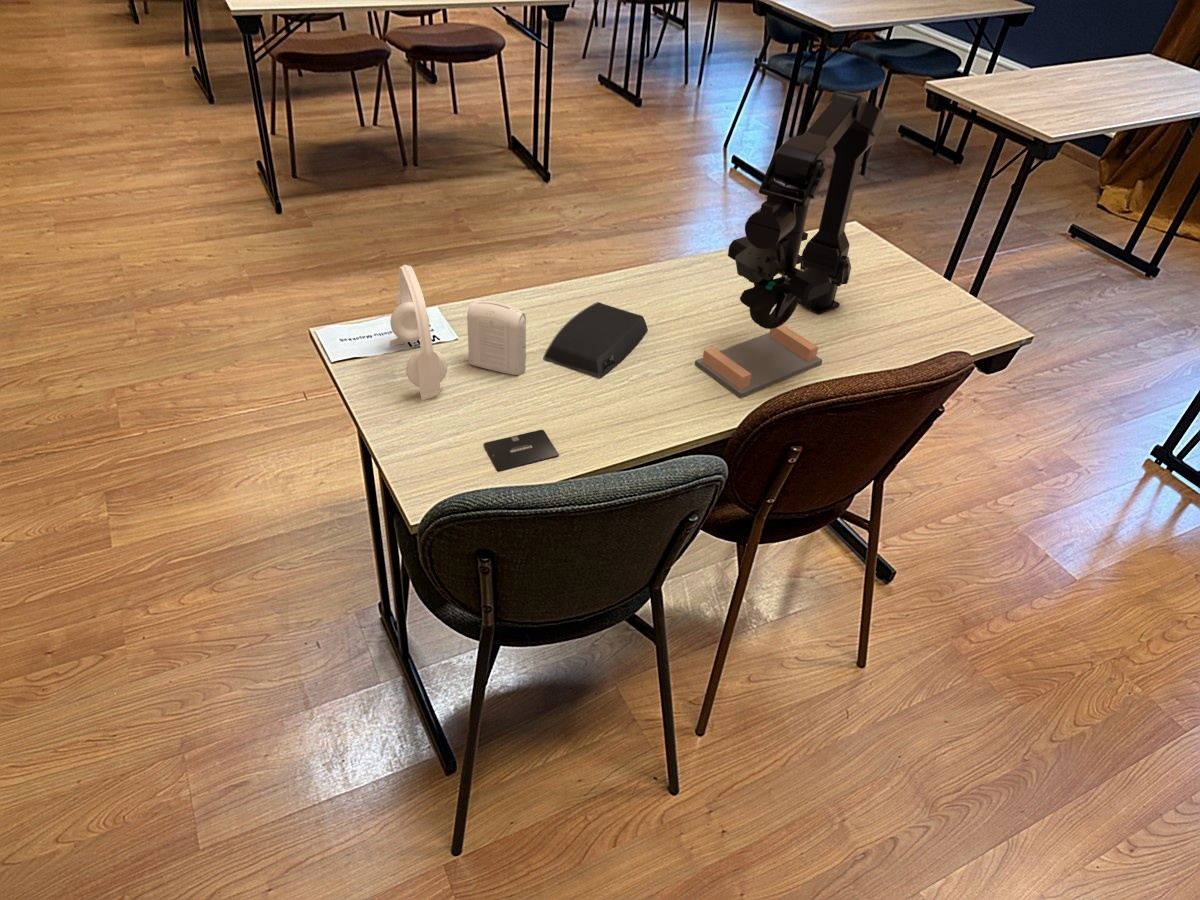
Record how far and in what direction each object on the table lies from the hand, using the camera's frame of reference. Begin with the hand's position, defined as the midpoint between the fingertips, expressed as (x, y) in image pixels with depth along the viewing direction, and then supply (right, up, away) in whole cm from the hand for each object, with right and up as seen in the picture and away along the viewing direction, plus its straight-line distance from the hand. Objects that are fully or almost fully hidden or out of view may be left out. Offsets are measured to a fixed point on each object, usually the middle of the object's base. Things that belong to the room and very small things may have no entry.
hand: (769, 311), depth 144 cm
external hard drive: (-30, -5, +10) cm, 32 cm away
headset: (-60, -10, +1) cm, 61 cm away
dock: (-1, -8, +7) cm, 11 cm away
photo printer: (-47, -9, +3) cm, 48 cm away
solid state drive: (-41, -24, -15) cm, 50 cm away
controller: (0, -3, +2) cm, 3 cm away
